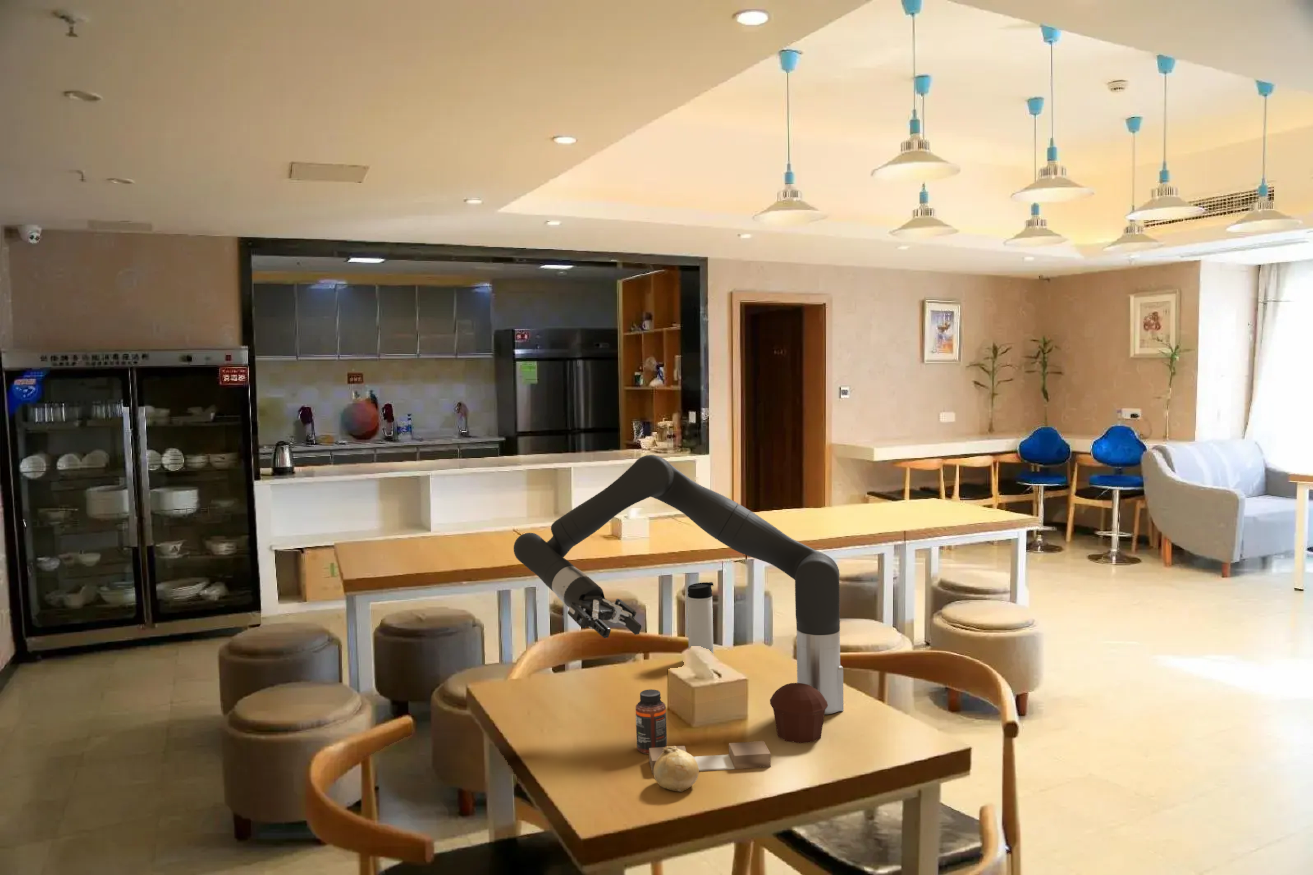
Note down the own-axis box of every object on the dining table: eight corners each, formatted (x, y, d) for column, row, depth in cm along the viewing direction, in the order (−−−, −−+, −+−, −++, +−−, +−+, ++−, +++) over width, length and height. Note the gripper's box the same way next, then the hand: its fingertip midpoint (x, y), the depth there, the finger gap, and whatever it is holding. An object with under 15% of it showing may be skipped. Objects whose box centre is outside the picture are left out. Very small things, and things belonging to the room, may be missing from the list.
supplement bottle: (671, 745, 185) (670, 688, 184) (661, 757, 179) (660, 698, 178) (642, 742, 187) (641, 686, 186) (632, 753, 181) (630, 696, 180)
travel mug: (715, 664, 236) (714, 585, 235) (689, 664, 236) (687, 586, 235) (714, 656, 242) (712, 580, 241) (688, 657, 242) (687, 580, 241)
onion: (694, 775, 171) (694, 737, 170) (702, 794, 163) (702, 754, 162) (651, 778, 170) (650, 740, 169) (657, 798, 162) (656, 758, 161)
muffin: (839, 734, 188) (839, 685, 188) (806, 750, 181) (806, 699, 180) (791, 719, 197) (791, 673, 196) (758, 735, 189) (757, 686, 188)
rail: (763, 753, 179) (763, 741, 179) (770, 766, 173) (770, 753, 173) (649, 761, 177) (649, 748, 177) (652, 774, 171) (652, 760, 171)
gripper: (556, 576, 193) (603, 618, 182) (607, 574, 203) (655, 613, 192) (545, 608, 195) (591, 652, 184) (596, 604, 205) (643, 645, 194)
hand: (624, 632), depth 188 cm, fingers open, 8 cm apart
